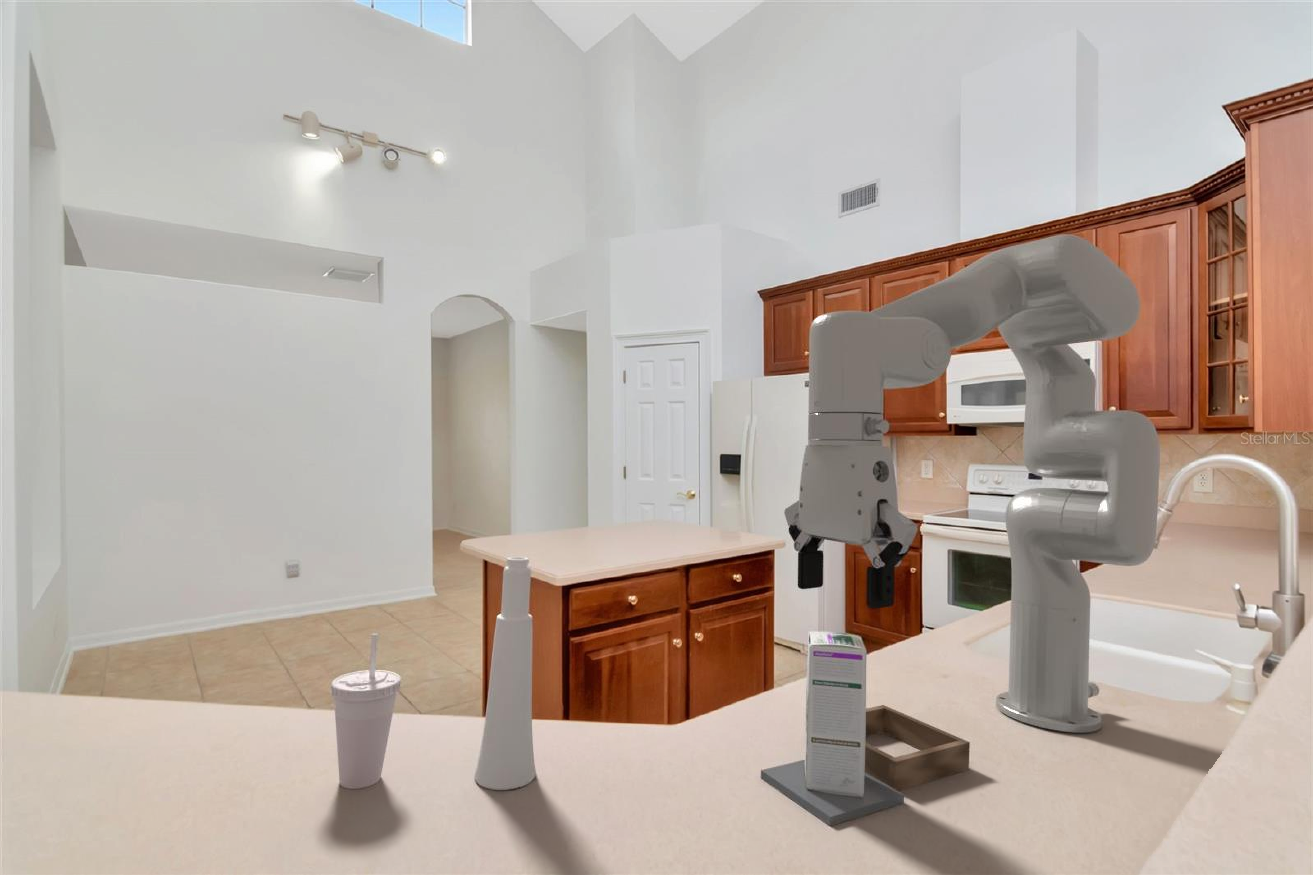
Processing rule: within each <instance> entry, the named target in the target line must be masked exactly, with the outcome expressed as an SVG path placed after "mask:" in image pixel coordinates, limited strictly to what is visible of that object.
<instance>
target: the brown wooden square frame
mask: <svg viewBox="0 0 1313 875" xmlns="http://www.w3.org/2000/svg"><path fill="white" fill-rule="evenodd" d="M882 733H884V734H887V735H889V736H890V737H893V738H894V739H897V740H898V741H901V742H903V743H905V744H906V745H909V746H912V747H913V748H915V749H917V750H918V751H914V752H911V753H910V752H909V753H906V754H902V755H899V756H893V755H891V754H888V752H884V751H883V750H881V749H879V748H877V747H875V746H873V745H872V744H869V743H867V742H865V773H867V774H869V775H870V776H872V777H874V778H876V779H877V780H879V781H881V782H883V783H885V784H886V785H888V786H890V787H892V788H894V789H895V790H897V791H899V792H900V791H902V790H904V789H909V788H911V787H912V788H913V787H915V786H918V785H919V786H920V785H921V784H926V783H929V782H932V781H935V780H939V779H942V778H946V777H948V776H951V775H955V774H959V773H963V772H965V771H969V770H970V750H971V749H970V747H971V746H970V745H971V743H970V741H968V740H965V739H964V738H961V737H958V736H956V735H954V734H952V733H949V732H947V731H944V730H942V729H940V728H938V727H935V726H934V725H930V724H928V723H926V722H924V721H921V720H919V719H917V718H914V717H912V716H911V715H910V716H909V715H908V714H905V713H903V712H901V711H898V710H897V709H893V708H892V707H889V706H887V705H884V704H882V705H877V706H872V707H866V737H868V736H869V737H870V736H873V735H877V734H882Z"/></svg>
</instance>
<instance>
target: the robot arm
mask: <svg viewBox="0 0 1313 875" xmlns="http://www.w3.org/2000/svg"><path fill="white" fill-rule="evenodd" d="M1140 311H1141V301H1140V297H1139V293H1138V291H1137V288H1136V286H1135V284H1134V282H1133V281H1132V280H1131V278H1130V277H1129V276H1128V275H1127V274H1126V273H1125V272H1124V271H1123V270H1122V269H1121V268H1120V267H1119V266H1118V265H1117V264H1116V263H1115V262H1114V261H1113V260H1112V259H1110V257H1109V256H1107V254H1105V252H1103V251H1102V249H1100V248H1099V247H1097V246H1096V245H1095V244H1094V243H1092V242H1090V241H1089V240H1088V239H1084V238H1083V237H1081V236H1079V235H1075V234H1070V233H1068V234H1067V233H1063V234H1057V235H1053V236H1049V237H1045V238H1041V239H1035V240H1032V241H1028V242H1024V243H1020V244H1015V245H1011V246H1008V247H1003V248H1000V249H998V250H995V251H993V252H990V253H988V254H986V255H984V256H982V257H981V258H979V259H977V260H976V261H973V262H972V263H971V264H970V263H969V265H967V266H966V267H964V268H962V269H960V270H959V271H956V272H955V273H953V274H951V275H950V276H949V277H947V278H945V279H943V280H941V281H938V282H936V283H933V284H931V285H929V286H926V287H924V288H922V289H919V290H917V291H915V292H912V293H910V294H908V295H906V296H904V297H902V298H899V299H896V300H893V301H892V302H891V301H890V303H887V304H884V305H882V306H879V307H878V308H875V309H873V310H871V311H863V310H839V311H838V310H837V311H833V312H827V313H824V314H821V315H818V316H817V317H816V318H814V320H813V321H812V322H811V325H810V328H809V337H808V338H809V339H808V340H809V341H808V342H809V343H808V350H809V351H808V355H809V356H808V410H807V411H808V413H807V414H808V418H807V419H808V420H807V421H808V422H807V423H808V424H807V426H808V427H807V428H808V429H807V431H808V432H807V445H805V449H804V454H803V459H802V465H801V466H802V467H801V473H800V482H799V496H798V499H799V500H796V502H794V503H792V504H791V505H789V506H788V507H786V508H785V509H784V517H785V520H786V523H787V526H788V533H789V535H790V538H791V539H792V540H793V548H794V551H796V552H797V588H799V589H801V590H808V589H818V588H822V587H823V585H824V551H823V550H820V548H821V546H822V544H823V542H825V540H827V541H830V542H831V541H833V542H838V543H845V544H849V545H857V546H861V547H862V549H863V551H864V552H865V555H866V556H867V558H868V559H869V561H870V562H871V564H872V566H867V567H866V590H865V591H866V592H865V593H866V598H865V600H866V602H865V605H866V606H867V608H869V609H871V610H876V609H883V608H889V607H893V606H894V604H895V567H899V566H900V565H901V563H902V559H904V557H906V555H907V554H908V553H909V552H910V550H911V545H912V544H913V541H914V539H915V537H916V536H917V533H918V531H919V527H918V525H917V524H916V523H915V522H914V521H912V520H911V519H909V518H908V517H907V516H905V514H903V513H902V512H900V511H899V506H898V505H899V503H898V490H897V479H896V472H895V466H894V462H893V460H894V459H893V457H892V452H891V448H890V446H889V445H884V443H883V441H884V434H887V433H888V432H889V429H890V423H889V422H888V420H886V419H884V415H883V414H884V390H892V389H893V390H895V389H906V388H908V389H909V388H916V387H921V386H925V385H928V384H930V383H933V382H934V381H936V380H937V379H939V378H940V377H941V376H942V375H943V374H944V373H945V372H946V370H947V369H948V367H949V365H950V362H951V357H952V350H955V349H958V348H961V347H964V346H966V345H970V344H974V343H976V342H977V341H979V340H982V339H983V338H984V337H986V336H987V335H989V333H991V332H992V331H994V330H995V329H997V328H998V332H999V334H1000V335H1001V338H1003V340H1004V342H1005V343H1006V345H1007V346H1008V348H1009V349H1010V350H1011V351H1012V353H1013V355H1014V357H1015V358H1016V359H1017V362H1018V364H1019V366H1020V368H1021V370H1022V372H1023V375H1024V378H1025V379H1024V380H1025V388H1026V389H1025V409H1024V422H1023V436H1022V439H1023V440H1022V458H1023V464H1024V466H1025V468H1026V469H1027V470H1028V471H1029V472H1030V473H1031V474H1033V475H1035V476H1038V477H1041V478H1047V479H1054V480H1055V479H1056V480H1057V479H1059V480H1074V481H1076V480H1077V481H1093V482H1094V481H1096V482H1106V485H1107V491H1104V490H1102V491H1101V490H1084V489H1075V488H1058V487H1056V488H1055V487H1035V488H1029V489H1024V490H1022V491H1020V492H1018V493H1017V494H1015V495H1014V496H1012V498H1011V499H1010V500H1009V501H1008V504H1007V506H1006V509H1005V529H1006V534H1007V539H1008V540H1007V541H1008V544H1009V546H1008V547H1009V553H1010V563H1011V588H1010V589H1011V591H1010V592H1011V593H1010V594H1011V595H1010V623H1009V624H1010V626H1009V628H1010V629H1009V662H1008V663H1009V664H1008V670H1009V671H1008V691H1005V692H1002V693H1000V694H998V695H997V696H996V697H995V706H996V707H997V709H998V710H999V711H1000V712H1001V713H1003V714H1004V715H1006V716H1008V717H1009V718H1010V717H1011V718H1012V719H1014V720H1017V721H1019V722H1022V723H1024V724H1028V725H1030V726H1035V727H1038V728H1042V729H1047V730H1052V731H1058V732H1063V733H1064V732H1065V733H1074V734H1075V733H1077V734H1083V733H1084V734H1085V733H1094V732H1097V731H1098V730H1100V729H1101V727H1102V718H1101V716H1100V714H1098V713H1097V712H1096V711H1095V710H1093V709H1092V708H1089V707H1088V706H1089V699H1090V698H1093V697H1097V696H1098V695H1099V694H1100V688H1099V686H1098V685H1097V684H1096V683H1094V682H1093V681H1092V682H1089V675H1090V673H1089V670H1090V669H1089V668H1090V635H1091V634H1090V629H1091V628H1090V627H1091V593H1090V589H1089V586H1088V583H1087V582H1086V579H1085V578H1084V576H1083V574H1082V573H1081V572H1080V570H1079V569H1078V567H1077V566H1076V564H1075V562H1074V561H1082V562H1090V563H1097V564H1102V565H1103V564H1105V565H1114V566H1120V567H1131V566H1132V567H1136V566H1138V565H1142V564H1143V563H1145V562H1146V561H1147V560H1148V559H1149V558H1150V557H1151V555H1152V553H1153V550H1154V548H1155V544H1156V537H1157V528H1158V526H1157V525H1158V509H1159V507H1158V506H1159V488H1160V486H1159V485H1160V467H1161V466H1160V464H1161V447H1160V440H1159V436H1158V432H1157V430H1156V426H1155V425H1154V424H1153V421H1151V419H1150V418H1148V417H1147V415H1145V414H1143V413H1140V412H1137V411H1135V410H1134V411H1133V410H1125V409H1124V410H1123V409H1121V410H1120V409H1114V410H1113V409H1112V410H1111V409H1110V410H1096V389H1097V388H1096V387H1097V381H1096V380H1097V379H1096V375H1095V373H1094V371H1093V370H1092V368H1091V367H1090V366H1089V365H1090V364H1088V363H1087V362H1086V361H1085V359H1084V358H1082V356H1081V355H1080V354H1079V353H1078V352H1076V351H1075V349H1073V348H1072V347H1071V346H1070V344H1071V345H1072V344H1080V343H1090V342H1098V341H1106V340H1107V341H1108V340H1113V339H1116V338H1121V337H1122V336H1125V335H1126V334H1127V333H1129V332H1130V331H1131V330H1132V329H1133V328H1134V327H1135V325H1136V324H1137V322H1138V320H1139V316H1140Z"/></svg>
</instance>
